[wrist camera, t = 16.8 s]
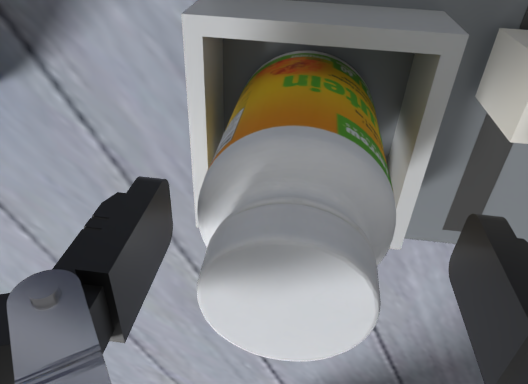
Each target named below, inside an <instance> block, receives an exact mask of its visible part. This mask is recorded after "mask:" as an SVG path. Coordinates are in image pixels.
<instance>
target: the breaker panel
mask: <svg viewBox="0 0 528 384" xmlns="http://www.w3.org/2000/svg"><path fill="white" fill-rule="evenodd" d="M181 16H182V30H183V45H184V59H185V74H186V88H187V103H188V117H189V132H190V146H191V161H192V175H193V190H194V204H195V219H196V228H199V223H198V214H197V208H198V199H199V194H200V190H201V187H202V184H203V181H204V178H205V175H206V173H207V171H208V168H209V166H210V164H211V162H212V160H213V158H214V156H215V153H216V151H217V149H218V146H219V144H220V142H221V139H222V137H223V134H224V132H225V130H226V128H227V125H228V123H229V120H230V118H231V116H232V114H233V111H234V109H235V107H236V104H237V102H238V100H239V97H240V95H241V93H242V91H243V89H244V87H245V86H246V84H247V82H248V81H249V79H250V78H251V77H252V75H253V74H254V73H255V72H256V71H257V70H258V69H259V68H260V67H261V66H262V65H264V64H265V63H267V62H268V61H270V60H271V59H273V58H275V57H277V56H280V55H282V54H286V53H290V52H294V51H317V52H323V53H327V54H330V55H332V56H335V57H337V58H339V59H341V60H343V61H344V62H346V63H347V64H349V65H350V66H351V67H352V68H353V69H355V70H356V71H357V73H358V74H359V75H360V76H361V77H362V79H363V80H364V82H365V83H366V85H367V87H368V89H369V91H370V94H371V96H372V100H373V103H374V107H375V112H376V116H377V121H378V126H379V131H380V135H381V139H382V144H383V150H384V154H385V158H386V162H387V167H388V171H389V175H390V179H391V183H392V188H393V192H394V198H395V206H396V226H395V232H394V236H393V240H392V242H391V245H390V247H389V249H396V250H401V247H402V244H403V240H404V238H406V239H415V240H424V241H433V242H443V243H452V244H456V243H457V241H458V238H459V236H460V234H461V231H462V229H463V227H464V224H465V222H466V220H467V218H468V216H469V215H471V214H481V215H490V216H499V217H504V218H505V219H506V220H507V221H508V223H509V225H510V226H511V228H512V230H513V232H514V233H515V235H516V237H517V238H521V239H525V240H526V241H527V242H528V144H522V143H511V142H509V140H508V139H507V138H506V137H505V135H504V134H503V133H502V131H501V130H500V129H499V127H498V126H497V125H496V123H495V122H494V121H493V119H492V118H491V117H490V116H489V114H488V113H487V112H486V110H485V109H484V108H483V106H482V105H481V104H480V102H479V101H478V100H477V98H476V97H475V95H476V92H477V90H478V87H479V84H480V81H481V78H482V76H483V73H484V70H485V67H486V64H487V62H488V59H489V56H490V53H491V50H492V48H493V45H494V42H495V39H496V36H497V34H498V31H499V28H508V29H522V30H528V0H198V1H196V2H195V3H194V4H193V5H191V6H190V7H189V8H188V9H187V10H185V11H184V12H183V13H182V14H181Z"/></svg>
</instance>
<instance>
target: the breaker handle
mask: <svg viewBox="0 0 528 384" xmlns="http://www.w3.org/2000/svg"><path fill="white" fill-rule="evenodd" d="M475 97H476V98H477V100H478V101H479V102H480V104H481V105H482V106H483V108H484V109H485V110H486V112H487V113H488V114H489V116H490V117H491V118H492V119H493V121H494V122H495V123H496V125H497V126H498V127H499V129H500V130H501V131H502V133H503V134H504V135H505V137H506V138H507V139H508V140H509V142H511V143H522V144H528V30H522V29H508V28H499V31H498V34H497V36H496V39H495V42H494V45H493V48H492V50H491V53H490V56H489V59H488V62H487V64H486V67H485V70H484V73H483V76H482V78H481V81H480V84H479V87H478V90H477V92H476V95H475Z"/></svg>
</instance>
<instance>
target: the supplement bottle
mask: <svg viewBox="0 0 528 384" xmlns="http://www.w3.org/2000/svg"><path fill="white" fill-rule="evenodd" d="M197 214H198V223H199V228H200V232H201V236H202V238H203V241H204V243H205V245H206V247H207V250H206V254H205V258H204V261H203V264H202V268H201V272H200V275H199V279H198V283H197V299H198V303H199V306H200V309H201V311H202V314H203V316H204V317H205V319H206V321H207V322H208V323H209V324H210V325H211V327H212V328H213V329H214V330H215V331H216V332H217V333H218V334H219V335H220V336H222V337H223V338H225V339H226V340H227V341H229V342H230V343H232V344H234V345H235V346H237V347H239V348H241V349H243V350H246V351H248V352H250V353H253V354H256V355H259V356H262V357H266V358H271V359H276V360H283V361H314V360H321V359H325V358H329V357H333V356H336V355H339V354H341V353H344V352H346V351H348V350H350V349H352V348H353V347H355V346H357V345H358V344H359V343H361V342H362V341H363V340H364V339H365V338H366V337H367V336H368V335H369V334H370V332H371V331H372V330H373V328H374V326H375V325H376V323H377V319H378V316H379V312H380V292H379V281H378V270H377V266H378V265H379V264H380V263H381V261H382V260H383V258H384V257H385V256H386V254H387V252H388V250H389V247H390V245H391V242H392V240H393V236H394V232H395V226H396V206H395V198H394V192H393V188H392V183H391V179H390V175H389V171H388V167H387V162H386V158H385V154H384V150H383V144H382V139H381V135H380V131H379V126H378V121H377V116H376V112H375V107H374V103H373V100H372V96H371V94H370V91H369V89H368V87H367V85H366V83H365V82H364V80H363V79H362V77H361V76H360V75H359V74H358V73H357V71H356V70H355V69H353V68H352V67H351V66H350V65H349V64H347V63H346V62H344V61H343V60H341V59H339V58H337V57H335V56H332V55H330V54H327V53H323V52H317V51H294V52H290V53H286V54H282V55H280V56H277V57H275V58H273V59H271V60H270V61H268V62H267V63H265V64H264V65H262V66H261V67H260V68H259V69H258V70H257V71H256V72H255V73H254V74H253V75H252V77H251V78H250V79H249V81H248V82H247V84H246V86H245V87H244V89H243V91H242V93H241V95H240V97H239V100H238V102H237V104H236V107H235V109H234V111H233V114H232V116H231V118H230V120H229V123H228V125H227V128H226V130H225V132H224V134H223V137H222V139H221V142H220V144H219V146H218V149H217V151H216V153H215V156H214V158H213V160H212V162H211V164H210V166H209V168H208V171H207V173H206V175H205V178H204V181H203V184H202V187H201V190H200V194H199V199H198V208H197Z"/></svg>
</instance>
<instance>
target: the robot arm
mask: <svg viewBox="0 0 528 384" xmlns="http://www.w3.org/2000/svg"><path fill="white" fill-rule="evenodd" d="M172 231H173V221H172V210H171V200H170V190H169V183H168V181H167V180H166V179H158V178H149V177H138V178H137V179H136V180H135V181H134V183H133V184H132V186H131V187H130V189H129V190H128V192H127V193H119V192H117V193H116V194H114V195H113V196H111V197H110V198H108V199H107V200H105V201H104V202H102V203H101V205H100V206H99V207H98V209H97V210H96V211H95V213H94V214H93V215H92V218H90V219H89V221H88V222H87V223H86V225H85V226H84V229H82V230H81V231H80V233H79V234H78V236H77V237H76V238H75V240H74V241H73V242H72V244H71V245H70V246H69V248H68V249H67V250H66V252H65V253H64V254H63V256H62V257H61V258H60V260H59V261H58V262H57V264H56V265H55V266H54V268H53V269H52V270H46V271H42V272H39V273H36V274H33V275H31V276H29V277H27V278H26V279H24V280H23V281H21V282H20V283H19V284H18V285H17V286H16V287H15V288H14V289H13V290H12V291H11V293H7V294H0V384H111V381H110V377H109V374H108V371H107V367H106V364H105V361H104V357H103V352H104V350H105V348H106V346H107V344H108V342H109V341H113V342H120V343H125V342H126V339H127V337H128V335H129V333H130V331H131V328H132V326H133V324H134V322H135V320H136V317H137V315H138V313H139V311H140V309H141V306H142V304H143V302H144V300H145V298H146V295H147V293H148V291H149V289H150V287H151V284H152V282H153V280H154V278H155V276H156V273H157V271H158V269H159V267H160V265H161V262H162V260H163V258H164V256H165V254H166V251H167V249H168V247H169V245H170V242H171V237H172ZM449 278H450V282H451V285H452V288H453V291H454V294H455V297H456V300H457V303H458V306H459V309H460V312H461V315H462V317H463V320H464V323H465V326H466V329H467V332H468V335H469V338H470V341H471V344H472V347H473V350H474V353H475V356H476V359H477V362H478V365H479V368H480V371H481V374H482V377H483V380H484V383H485V384H528V242H527V241H526V240H525V239H521V238H517V237H516V235H515V233H514V232H513V230H512V228H511V226H510V225H509V223H508V221H507V220H506V219H505V218H504V217H499V216H490V215H481V214H471V215H469V216H468V218H467V220H466V222H465V224H464V227H463V229H462V231H461V234H460V236H459V238H458V241H457V243H456V245H455V248H454V250H453V253H452V255H451V258H450V262H449Z"/></svg>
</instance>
